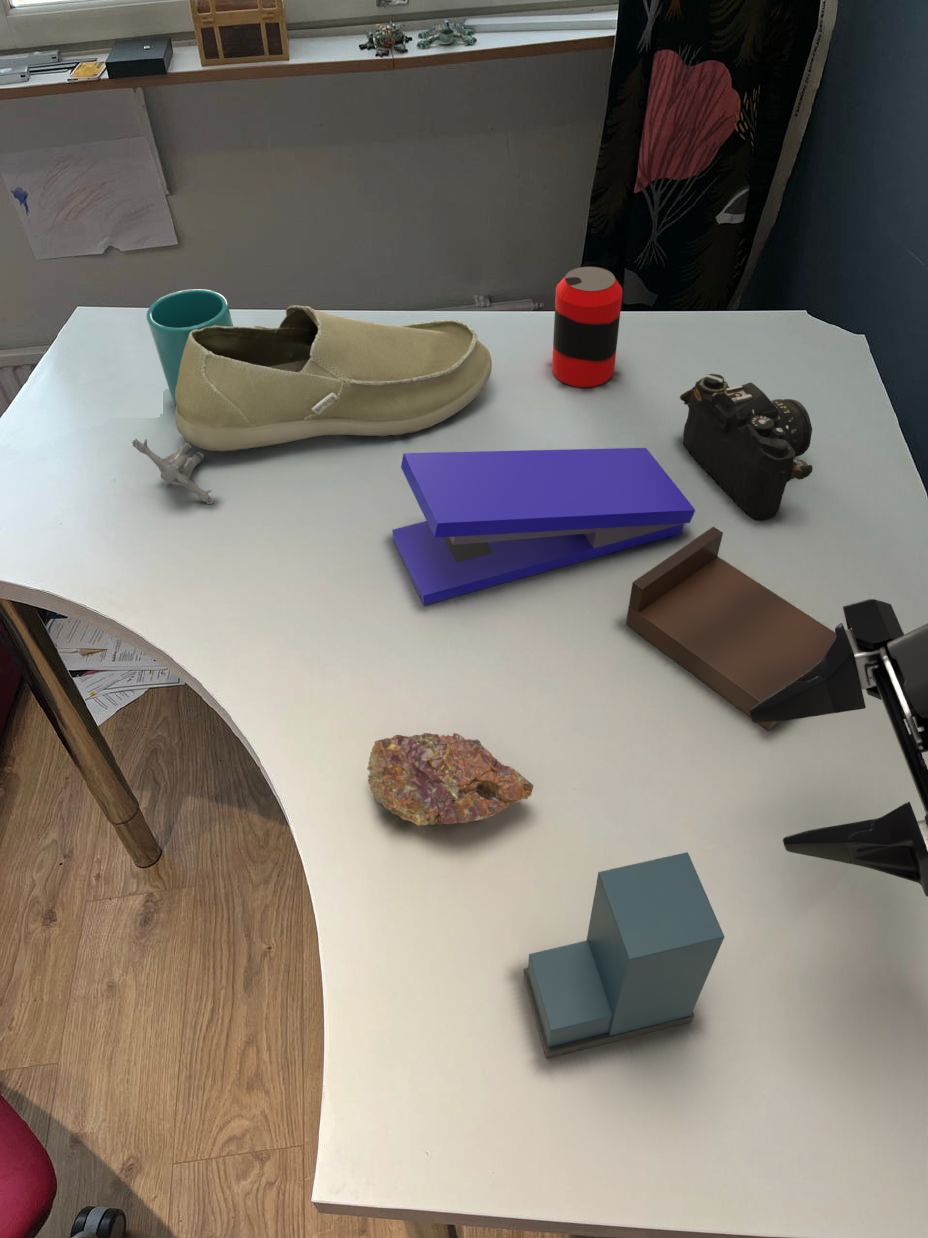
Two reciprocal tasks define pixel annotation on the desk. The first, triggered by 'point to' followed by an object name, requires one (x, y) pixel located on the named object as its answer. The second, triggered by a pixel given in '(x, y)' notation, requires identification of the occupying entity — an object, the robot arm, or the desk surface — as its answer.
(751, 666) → the brown lipped tray
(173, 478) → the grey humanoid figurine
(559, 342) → the soda can
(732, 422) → the film camera
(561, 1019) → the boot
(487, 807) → the mineral specimen
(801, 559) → the desk surface
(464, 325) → the loafer
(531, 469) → the stapler
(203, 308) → the cup
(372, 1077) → the desk surface
